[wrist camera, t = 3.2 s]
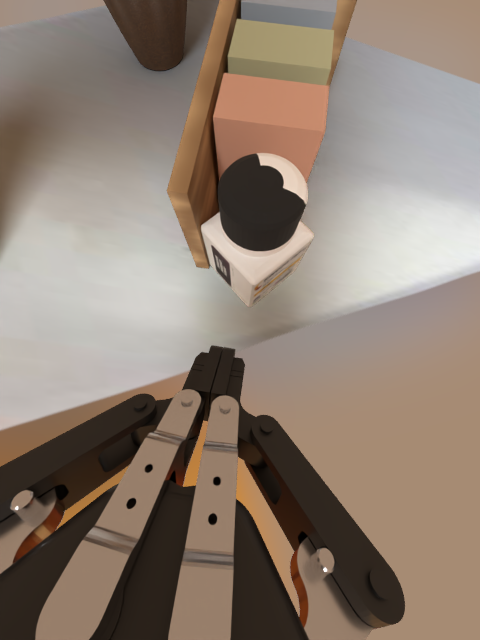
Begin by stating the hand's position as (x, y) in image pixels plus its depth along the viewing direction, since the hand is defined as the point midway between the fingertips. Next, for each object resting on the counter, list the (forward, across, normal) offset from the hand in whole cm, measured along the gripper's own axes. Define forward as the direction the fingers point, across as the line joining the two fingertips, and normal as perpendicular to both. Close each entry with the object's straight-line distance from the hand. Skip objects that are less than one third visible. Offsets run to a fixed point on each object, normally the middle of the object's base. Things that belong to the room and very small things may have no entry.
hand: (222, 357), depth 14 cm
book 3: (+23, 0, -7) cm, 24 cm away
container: (+17, -1, 0) cm, 17 cm away
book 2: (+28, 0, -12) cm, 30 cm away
